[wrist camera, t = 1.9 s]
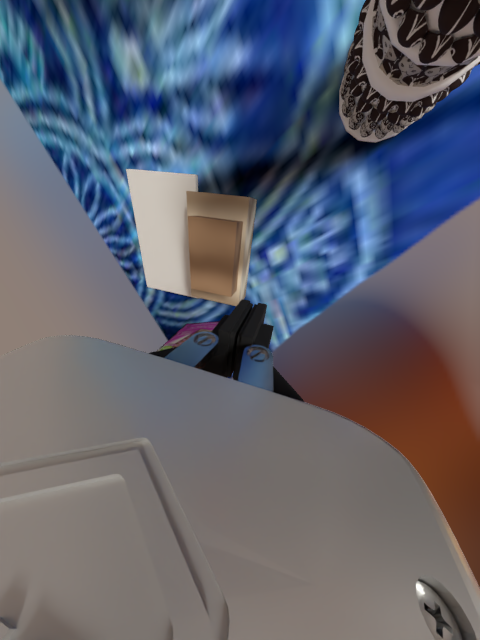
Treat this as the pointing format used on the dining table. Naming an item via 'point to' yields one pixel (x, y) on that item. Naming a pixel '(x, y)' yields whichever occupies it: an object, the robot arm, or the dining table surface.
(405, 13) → the decorative candle
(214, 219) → the walnut tile
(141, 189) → the off-white mat
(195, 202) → the birch stand
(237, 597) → the robot arm
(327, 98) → the dining table surface
